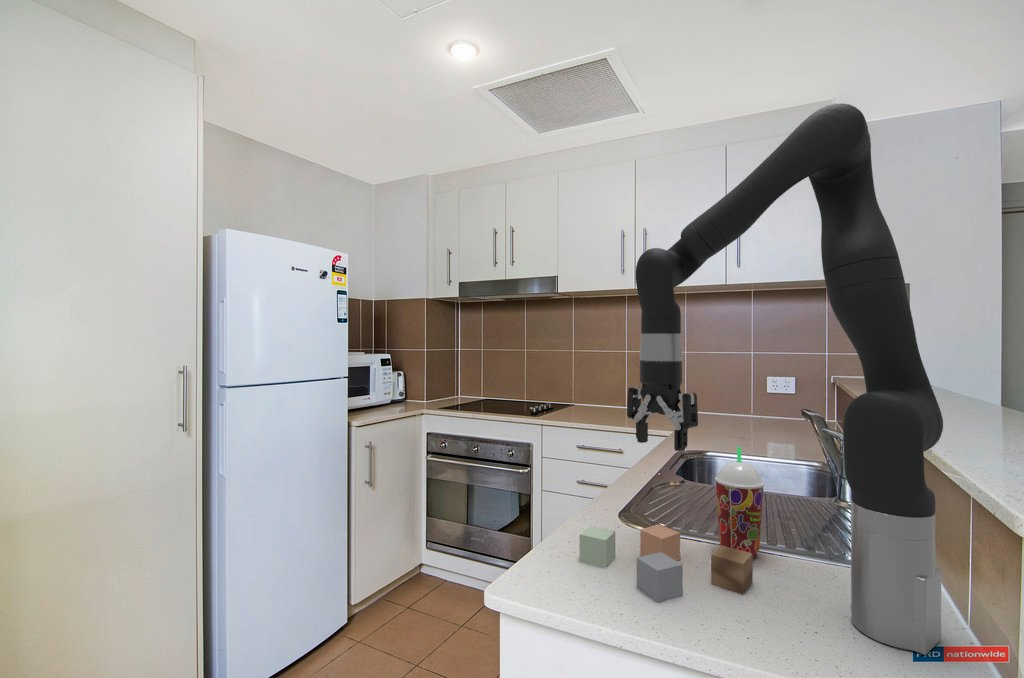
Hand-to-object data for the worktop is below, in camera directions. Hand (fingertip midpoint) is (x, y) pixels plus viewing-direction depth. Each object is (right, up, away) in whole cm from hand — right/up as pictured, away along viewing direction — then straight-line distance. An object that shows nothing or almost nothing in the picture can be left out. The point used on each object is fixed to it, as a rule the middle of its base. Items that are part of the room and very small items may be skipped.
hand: (660, 446), depth 91 cm
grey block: (-4, -21, -12) cm, 24 cm away
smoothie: (+15, -21, +2) cm, 26 cm away
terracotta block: (0, -21, 0) cm, 21 cm away
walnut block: (+9, -21, -10) cm, 24 cm away
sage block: (-12, -21, -1) cm, 24 cm away
